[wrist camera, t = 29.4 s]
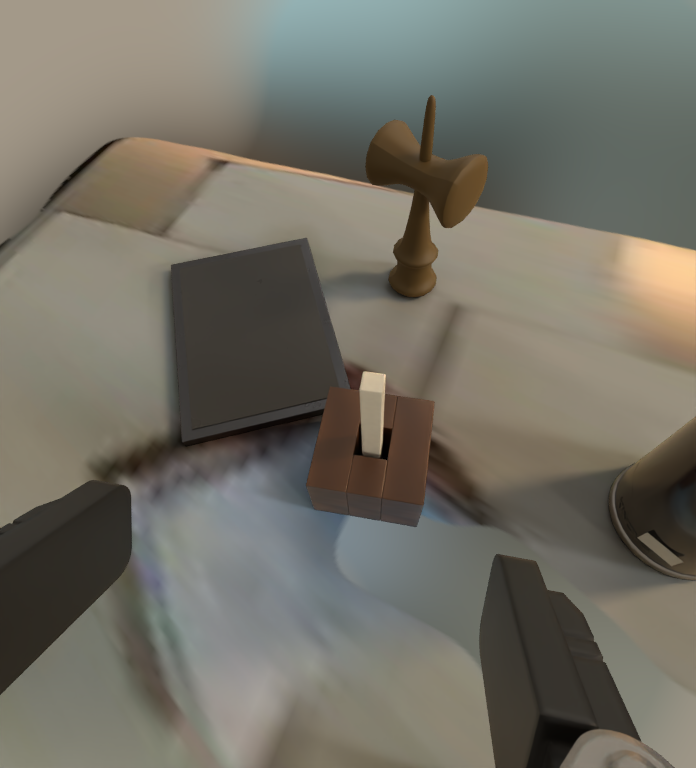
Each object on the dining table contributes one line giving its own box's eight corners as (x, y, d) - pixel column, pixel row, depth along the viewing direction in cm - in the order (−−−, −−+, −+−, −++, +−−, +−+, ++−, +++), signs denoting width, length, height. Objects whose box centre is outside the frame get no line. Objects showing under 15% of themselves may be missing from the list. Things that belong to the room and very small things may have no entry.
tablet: (307, 243, 56) (306, 236, 55) (354, 406, 44) (354, 401, 43) (173, 271, 55) (170, 264, 54) (185, 446, 43) (181, 441, 42)
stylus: (381, 465, 41) (386, 373, 28) (379, 481, 40) (382, 393, 28) (365, 462, 41) (362, 370, 28) (362, 478, 41) (358, 390, 28)
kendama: (429, 321, 49) (460, 137, 32) (361, 277, 53) (357, 90, 36) (463, 289, 51) (510, 100, 34) (396, 249, 55) (408, 60, 38)
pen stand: (427, 433, 43) (434, 400, 37) (416, 527, 38) (423, 505, 33) (334, 419, 44) (329, 386, 39) (314, 509, 39) (305, 485, 34)
